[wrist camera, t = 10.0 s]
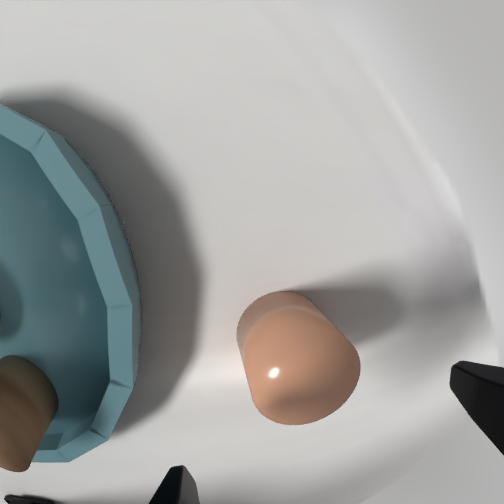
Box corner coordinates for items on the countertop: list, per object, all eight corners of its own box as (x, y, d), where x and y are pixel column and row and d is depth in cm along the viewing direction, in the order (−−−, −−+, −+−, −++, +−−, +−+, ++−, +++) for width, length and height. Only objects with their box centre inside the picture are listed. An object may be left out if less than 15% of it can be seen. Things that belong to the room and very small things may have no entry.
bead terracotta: (326, 353, 16) (363, 402, 12) (249, 378, 16) (265, 437, 11) (312, 279, 15) (354, 315, 11) (225, 306, 15) (236, 353, 10)
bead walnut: (27, 424, 13) (-1, 474, 9) (-16, 367, 12) (-56, 409, 8) (73, 409, 13) (47, 468, 9) (26, 344, 12) (-18, 392, 8)
